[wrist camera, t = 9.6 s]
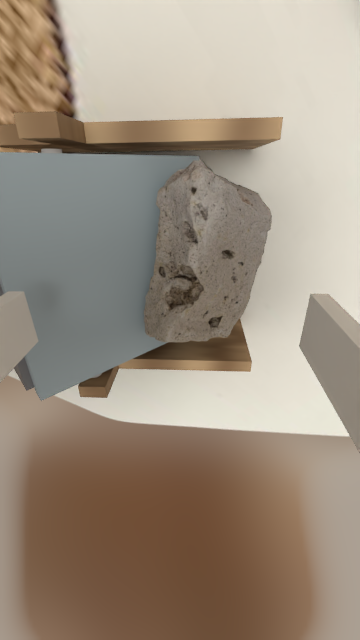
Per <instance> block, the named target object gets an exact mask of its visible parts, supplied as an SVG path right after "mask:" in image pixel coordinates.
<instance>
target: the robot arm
mask: <svg viewBox="0 0 360 640" xmlns="http://www.w3.org/2000/svg"><path fill="white" fill-rule="evenodd" d="M37 342H38V338H37V334H36V331H35V327H34V324H33V321H32V317H31V314H30V310H29V307H28V304H27V300H26V297H25V293H24V291H8V292H6V293H5V294H3V295H2V296H0V382H1V381H2V380H3V379H4V378H5V377H6V376H7V375H8V374H9V373H10V371H11V370H12V369H13V368H14V367H15V366H16V365H17V364H18V363H19V362H20V361H21V360H22V359H23V357H24V356H25V355H26V354H27V353H28V352H29V351H30V350H31V349H32V348H33V347H34V346H35V345H36V343H37ZM299 347H300V349H301V350H302V352H303V354H304V356H305V357H306V359H307V361H308V363H309V364H310V366H311V368H312V370H313V371H314V373H315V375H316V377H317V379H318V380H319V382H320V384H321V386H322V387H323V389H324V391H325V393H326V394H327V396H328V398H329V400H330V402H331V403H332V405H333V407H334V409H335V410H336V412H337V414H338V416H339V417H340V419H341V421H342V423H343V424H344V426H345V428H346V430H347V432H348V433H349V435H350V437H351V439H352V440H353V442H354V444H355V446H356V447H357V449H358V451H359V453H360V324H359V323H358V322H357V321H356V320H355V319H354V318H353V317H352V316H351V315H349V314H348V313H347V312H346V311H345V310H344V309H343V308H342V307H341V306H340V305H339V304H338V303H337V302H336V301H335V300H334V299H333V298H332V297H331V296H330V295H329V294H310V299H309V304H308V308H307V313H306V317H305V322H304V327H303V331H302V336H301V341H300V345H299Z"/></svg>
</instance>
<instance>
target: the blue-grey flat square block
mask: <svg viewBox="0 0 360 640" xmlns="http://www.w3.org/2000/svg"><path fill="white" fill-rule="evenodd" d="M193 160H199V156H172V155H119V154H66V153H62V149H41V153H13V152H0V296H2V295H3V294H5V293H6V292H8V291H24V293H25V297H26V300H27V304H28V307H29V310H30V314H31V317H32V321H33V324H34V327H35V331H36V334H37V338H38V342H37V343H36V345H35V346H34V347H33V348H32V349H31V350H30V351H29V352H28V353H27V354H26V355H25V356H24V357H23V359H22V360H21V361H20V362H19V363H18V364H17V365H16V366H15V367H14V369H15V371H16V373H17V374H18V376H19V378H20V380H21V382H22V383H23V385H24V387H25V389H26V390H29V389H31V388H34V387H35V390H36V393H37V395H38V396H39V398H40V400H44V399H46V398H48V397H50V396H53V395H55V394H57V393H59V392H61V391H64V390H66V389H68V388H70V387H72V386H74V385H77V384H79V383H81V382H83V381H85V380H87V379H90V378H97V377H99V376H100V375H101V374H102V373H103V372H105V371H107V370H109V369H111V368H114V367H116V366H118V365H120V364H122V363H124V362H127V361H129V360H131V359H133V358H135V357H137V356H140V355H142V354H144V353H146V352H148V351H150V350H153V349H155V348H157V347H159V346H161V345H164V344H166V343H168V342H161V341H158V340H156V339H155V338H154V337H149V335H146V333H145V323H144V309H145V302H146V299H145V296H146V295H147V293H148V291H149V285H150V280H151V278H152V277H153V275H154V264H155V259H156V240H157V234H158V222H159V216H160V209H159V208H158V206H157V205H156V200H157V194H158V191H159V189H160V188H161V187H163V186H164V185H165V183H166V181H167V180H168V179H169V178H170V177H171V176H172V175H173V174H174V173H175V172H177V171H178V170H180V169H185V168H186V167H188V166H189V165H190V164H191V163H192V162H193Z"/></svg>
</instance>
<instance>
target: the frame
mask: <svg viewBox="0 0 360 640" xmlns="http://www.w3.org/2000/svg"><path fill="white" fill-rule="evenodd" d="M13 114H14V118H15V123H16V124H10V125H0V147H4V148H13V149H22V150H31V151H38V153H41V149H62V153H84V152H133V151H182V150H231V149H254V148H257V147H260V146H263V145H265V144H268V143H271V142H274V141H276V140H279V139H280V136H281V128H282V120H283V117H272V118H235V119H197V120H160V121H122V122H85V123H83V122H81V121H78V120H76V119H73V118H71V117H68V116H66V115H63V114H61V113H58V112H56V111H54V112H20V113H13ZM251 363H252V361H251V357H250V354H249V350H248V346H247V343H246V339H245V336H244V332H243V328H242V325H241V321H240V318H239V319H238V321H237V322H236V324H235V325H234V326H233V329H232V330H231V333H230V335H229V336H228V337H226V338H223V337H214V338H210V339H209V340H208V341H200V342H198V341H192V340H190V341H188V342H168V343H166V344H164V345H161V346H159V347H157V348H155V349H153V350H150V351H148V352H146V353H144V354H142V355H140V356H137V357H135V358H133V359H131V360H129V361H127V362H124V363H122V364H120V365H118V366H116V367H114V368H111V369H109V370H107V371H105V372H103V373H102V374H101V375H100V376H99V377H97V378H90V379H87V380H85V381H83V382H81V383H80V384H79V386H78V388H79V393H80V397H100V398H107V397H108V394H109V392H110V389H111V387H112V384H113V382H114V379H115V377H116V374H117V372H118V369H119V368H126V369H167V370H207V371H248V372H250V371H251Z"/></svg>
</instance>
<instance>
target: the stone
mask: <svg viewBox="0 0 360 640" xmlns="http://www.w3.org/2000/svg"><path fill="white" fill-rule="evenodd" d="M156 205H157V206H158V208H159V209H160V216H159V222H158V234H157V240H156V259H155V264H154V275H153V277H152V278H151V280H150V285H149V291H148V293H147V295H146V296H145V299H146V302H145V309H144V323H145V333H146V335H149V337H154V338H155V339H156V340H158V341H161V342H188V341H190V340H192V341H198V342H200V341H208V340H209V339H210V338H214V337H223V338H226V337H228V336H229V335H230V333H231V330H232V329H233V326H234V325H235V324H236V322H237V321H238V319H239V318H240V317H241V315H242V314H243V312H244V310H245V308H246V306H247V303H248V301H249V298H250V292H251V288H252V285H253V282H254V278H255V275H256V272H257V268H258V267H259V265H260V264H261V257H262V255H263V253H264V246H265V243H266V239H267V231H269V230H270V227H271V213H270V209H269V208H268V207H267V206H266V204H265V203H264V202H263V201H262V199H261V198H260V196H259V194H258V193H256V192H254V191H251V190H249V189H247V188H245V187H242V186H240V185H236V184H233V183H231V182H229V181H228V180H227V179H225V178H222V177H220V176H217V175H215V174H214V173H213V172H212V170H211V169H209V168H207V167H206V165H205V164H204V162H203V161H202V160H193V162H192V163H191V164H190V165H189V166H188V167H186V168H185V169H180V170H178V171H177V172H175V173H174V174H173V175H172V176H171V177H170V178H169V179H168V180H167V181H166V183H165V185H164V186H163V187H161V188H160V189H159V191H158V194H157V200H156Z"/></svg>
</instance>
